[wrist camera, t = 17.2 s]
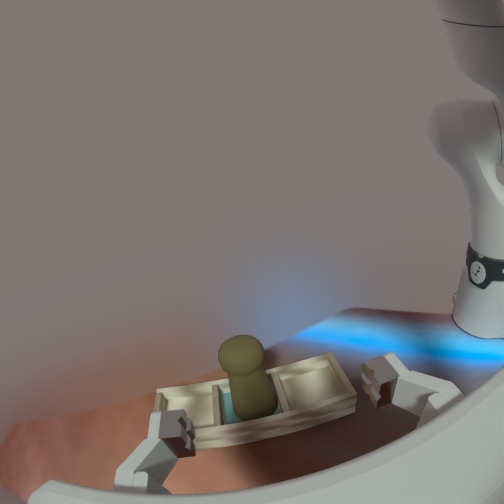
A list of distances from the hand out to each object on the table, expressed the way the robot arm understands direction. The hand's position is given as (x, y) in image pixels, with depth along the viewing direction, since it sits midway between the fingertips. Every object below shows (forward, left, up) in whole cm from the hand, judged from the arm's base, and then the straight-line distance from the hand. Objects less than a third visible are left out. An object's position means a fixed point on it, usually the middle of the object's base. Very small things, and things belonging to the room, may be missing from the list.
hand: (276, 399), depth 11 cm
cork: (+2, -16, -20) cm, 26 cm away
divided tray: (+3, -16, -22) cm, 27 cm away
